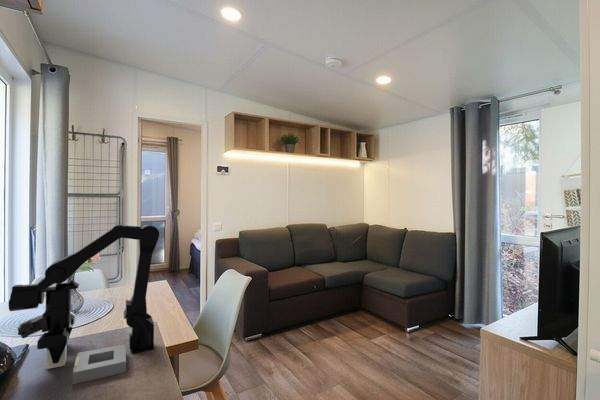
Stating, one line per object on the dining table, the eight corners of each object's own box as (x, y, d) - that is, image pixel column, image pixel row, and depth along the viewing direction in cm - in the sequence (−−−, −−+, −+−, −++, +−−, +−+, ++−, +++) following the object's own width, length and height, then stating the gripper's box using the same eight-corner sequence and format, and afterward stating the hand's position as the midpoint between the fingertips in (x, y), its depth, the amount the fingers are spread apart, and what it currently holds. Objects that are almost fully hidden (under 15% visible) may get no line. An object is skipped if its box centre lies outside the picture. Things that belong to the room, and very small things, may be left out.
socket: (124, 353, 96) (125, 343, 96) (125, 372, 86) (126, 360, 86) (77, 363, 90) (77, 352, 90) (72, 384, 80) (72, 371, 80)
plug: (66, 359, 92) (67, 335, 92) (64, 365, 88) (65, 340, 88) (49, 362, 90) (49, 338, 90) (46, 369, 86) (47, 344, 86)
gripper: (29, 300, 93) (28, 352, 93) (11, 321, 77) (9, 384, 77) (75, 295, 99) (74, 344, 99) (67, 313, 83) (65, 372, 83)
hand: (57, 359), depth 89 cm, fingers closed on plug, 4 cm apart
